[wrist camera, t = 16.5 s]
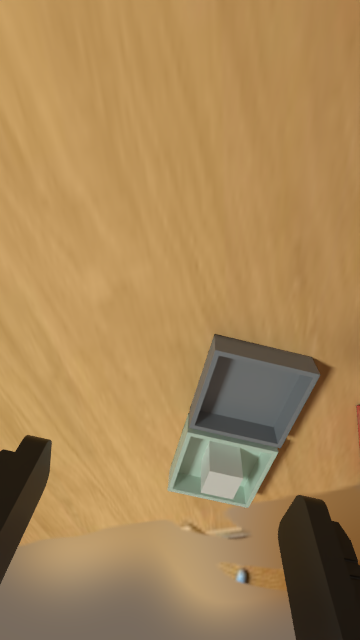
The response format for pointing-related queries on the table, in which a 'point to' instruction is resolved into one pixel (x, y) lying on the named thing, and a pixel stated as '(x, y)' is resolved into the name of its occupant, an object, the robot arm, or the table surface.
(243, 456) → the bin
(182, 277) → the table surface
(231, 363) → the bin
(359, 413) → the cracker box
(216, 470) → the light grey block
